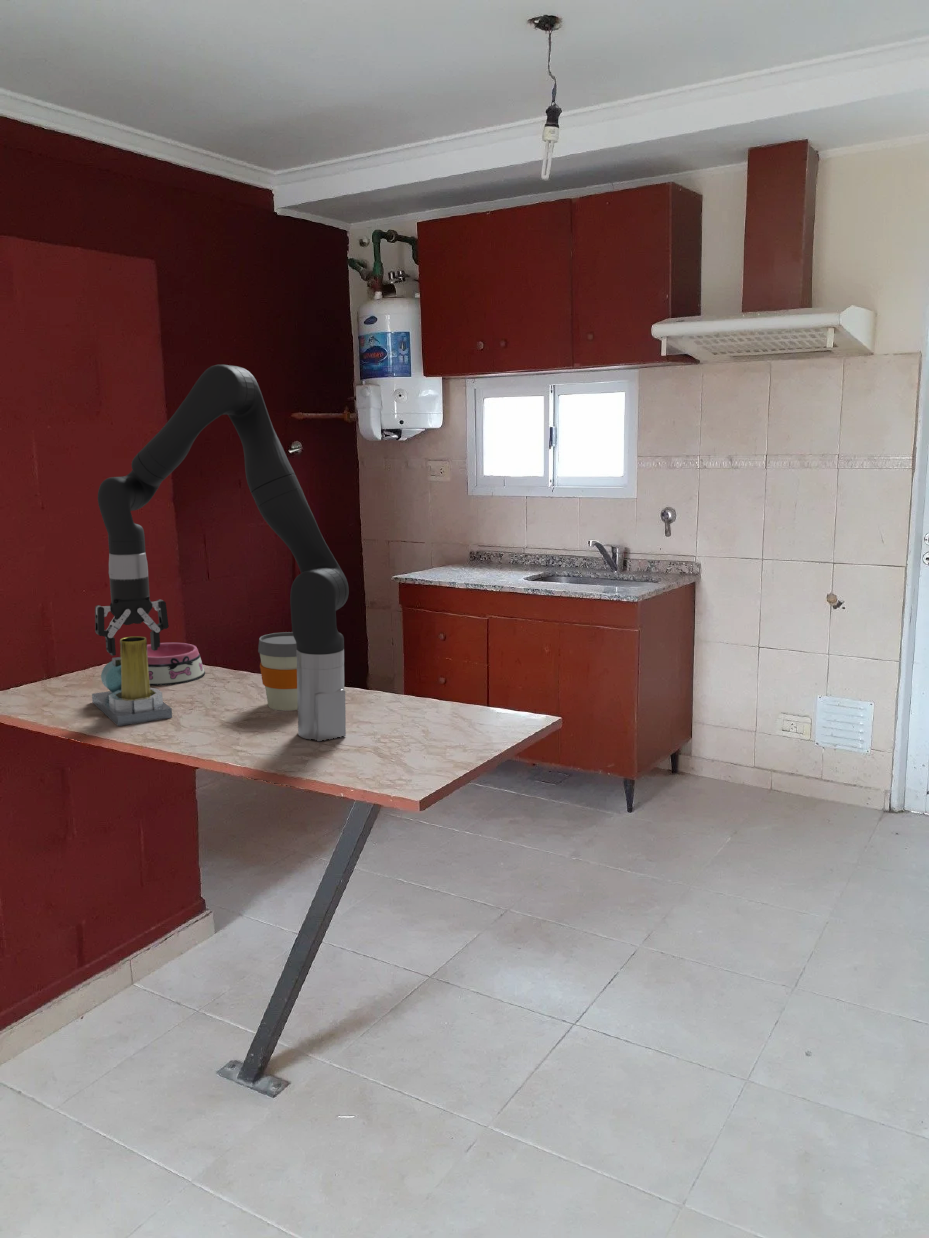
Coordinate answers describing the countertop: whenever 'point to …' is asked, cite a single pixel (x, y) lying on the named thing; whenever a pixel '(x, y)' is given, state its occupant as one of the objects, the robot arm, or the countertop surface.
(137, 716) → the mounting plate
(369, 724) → the countertop surface
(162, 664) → the dog bowl
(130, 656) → the vase
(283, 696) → the reusable coffee cup
